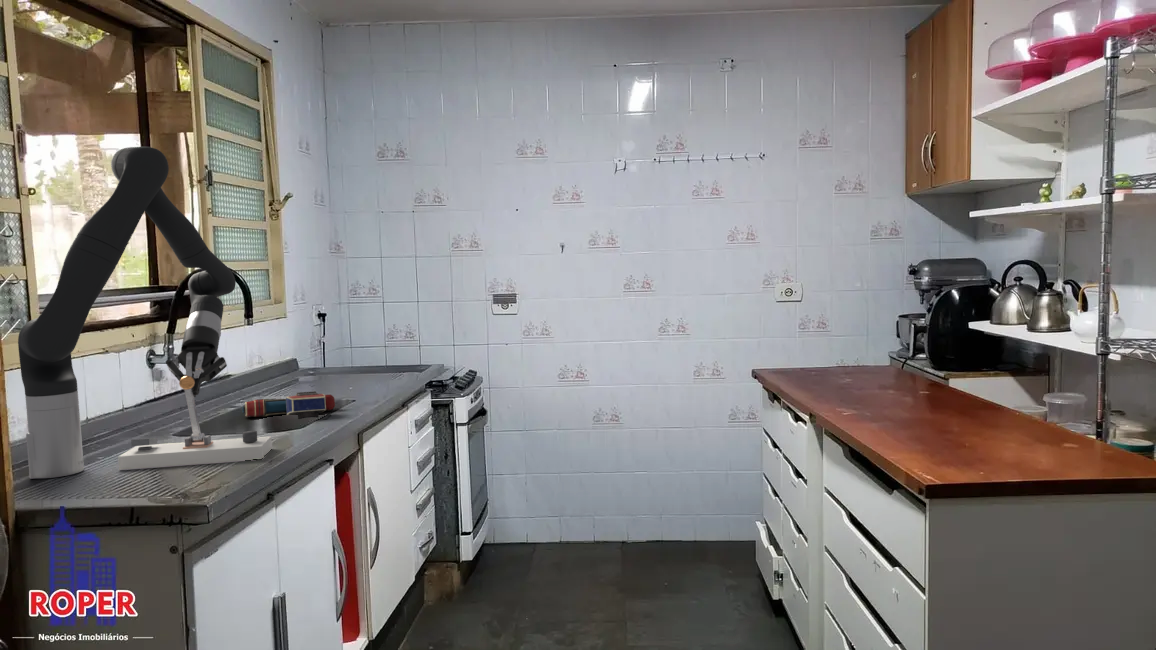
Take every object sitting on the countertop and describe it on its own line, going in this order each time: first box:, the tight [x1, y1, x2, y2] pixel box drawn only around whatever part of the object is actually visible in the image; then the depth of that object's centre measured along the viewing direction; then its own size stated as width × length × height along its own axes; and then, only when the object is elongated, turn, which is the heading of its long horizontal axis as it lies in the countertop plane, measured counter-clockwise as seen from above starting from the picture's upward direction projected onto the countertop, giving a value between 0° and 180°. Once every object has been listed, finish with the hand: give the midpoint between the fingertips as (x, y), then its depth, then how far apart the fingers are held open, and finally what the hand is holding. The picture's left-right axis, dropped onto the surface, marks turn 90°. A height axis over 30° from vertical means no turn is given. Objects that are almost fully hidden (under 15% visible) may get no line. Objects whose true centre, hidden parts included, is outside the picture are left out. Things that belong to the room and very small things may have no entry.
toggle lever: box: [178, 376, 206, 443], centre depth 171 cm, size 3×3×16 cm
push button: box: [242, 430, 258, 442], centre depth 176 cm, size 3×3×2 cm
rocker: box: [130, 437, 158, 447], centre depth 172 cm, size 5×4×1 cm
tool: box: [242, 390, 336, 420], centre depth 224 cm, size 8×25×20 cm
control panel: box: [117, 434, 273, 471], centre depth 174 cm, size 11×29×5 cm, turn 101°
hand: (190, 395), depth 171 cm, fingers closed
